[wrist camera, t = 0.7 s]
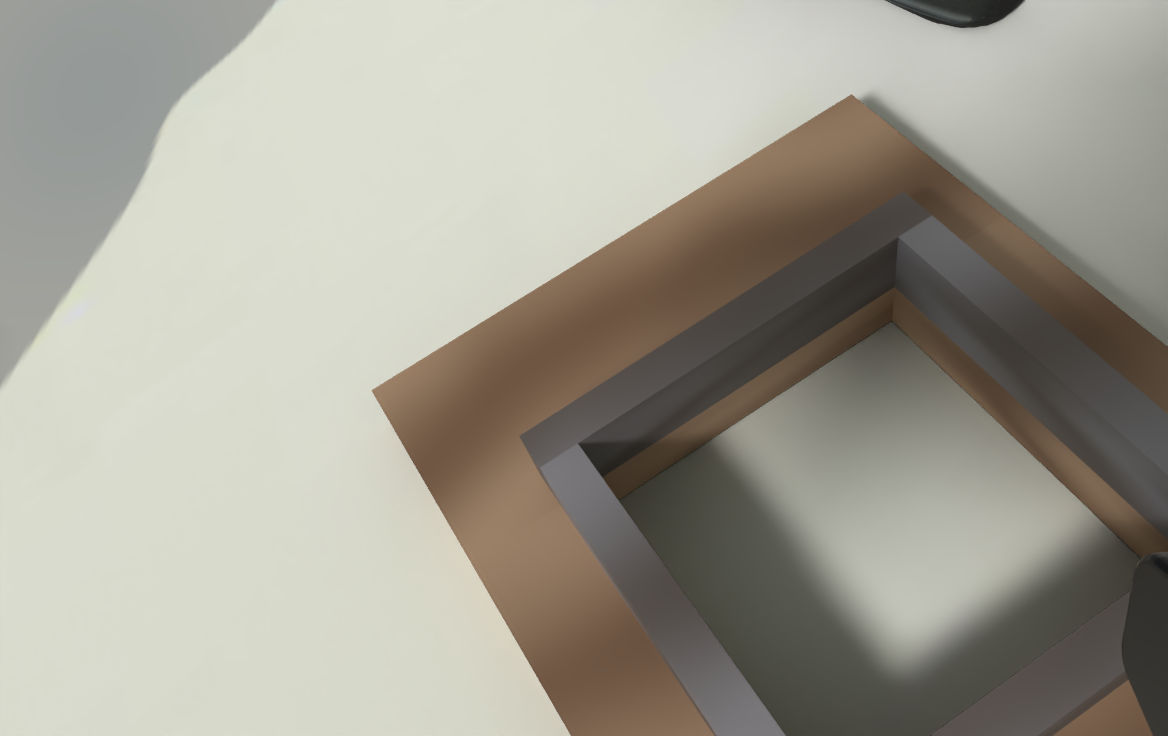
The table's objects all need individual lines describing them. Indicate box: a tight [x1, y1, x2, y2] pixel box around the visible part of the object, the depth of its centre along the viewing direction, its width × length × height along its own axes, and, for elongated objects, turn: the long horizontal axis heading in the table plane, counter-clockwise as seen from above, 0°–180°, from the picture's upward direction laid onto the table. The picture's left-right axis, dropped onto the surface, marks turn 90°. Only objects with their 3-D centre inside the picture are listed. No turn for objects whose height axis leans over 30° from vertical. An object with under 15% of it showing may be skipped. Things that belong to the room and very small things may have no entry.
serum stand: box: [372, 94, 1168, 736], centre depth 22 cm, size 21×16×4 cm
